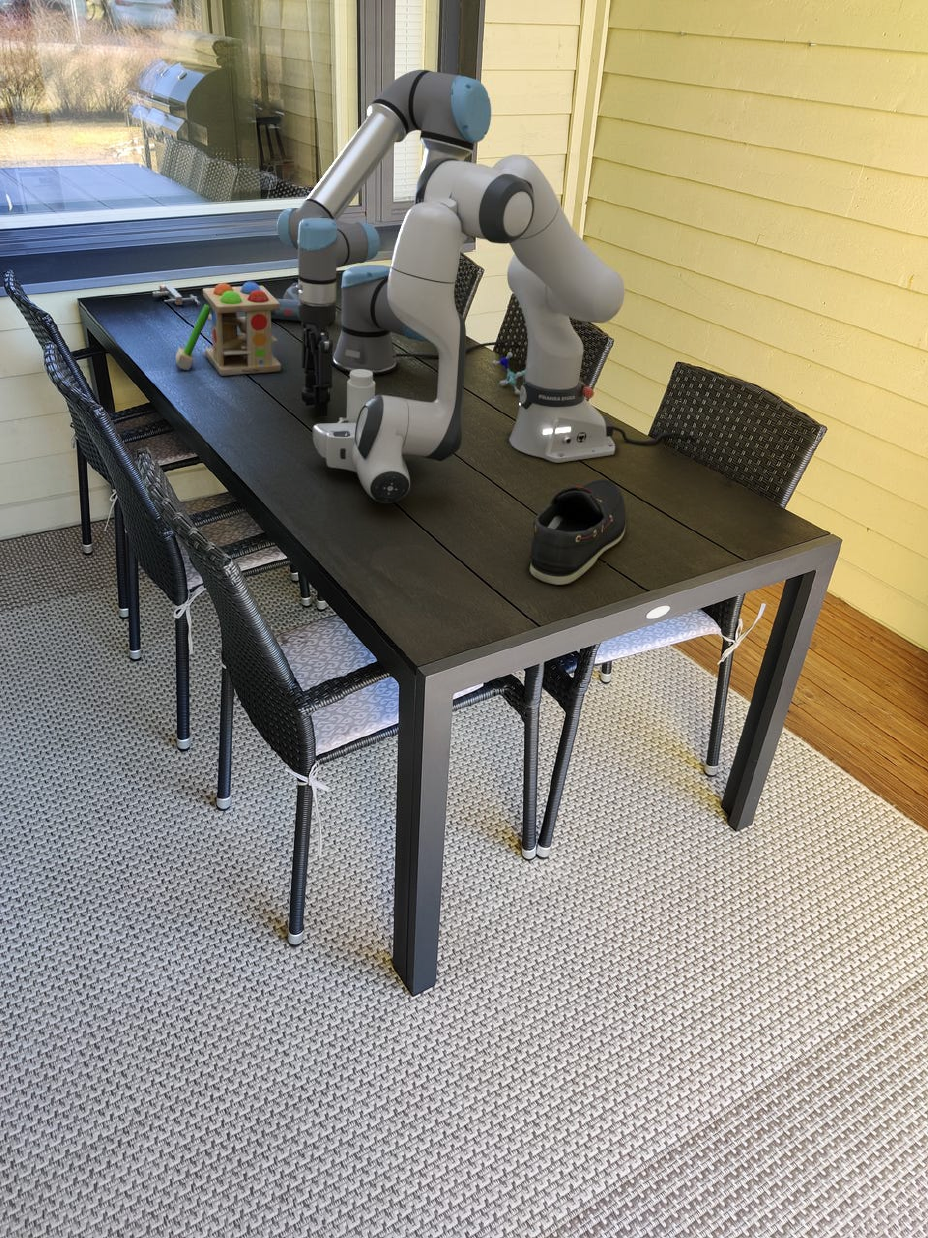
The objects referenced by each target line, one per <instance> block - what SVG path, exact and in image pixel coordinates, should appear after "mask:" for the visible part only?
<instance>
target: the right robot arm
mask: <svg viewBox="0 0 928 1238" xmlns="http://www.w3.org/2000/svg"><path fill="white" fill-rule="evenodd" d="M420 172H421V171H420ZM413 202H414V203H413V206H411V207H410V208H409V209H408V210H407V211H406V214H405V216H404V219H403V220H402V224H401V226H400V229H399V232H398V235H397V238H396V241H395V245H394V249H393V252H392V257H391V261H390V266H389V267H390V271H389V276H388V284H387V299H388V303H389V306H390V308H391V310H392V311H393V313H394V314H395V316H396V317H397V318H398V319H399V320H400V321H401V322H402V323H404V324H405V325H406V326H407V327H409V328H410V329H412V330H413V331H415V332H417V333H418V334H420V335H421V336H423V337H425V338H426V339H428V340H429V341H428V342H430V343H431V344H432V345H433V346H434V347H435V348H436V351H437V353H438V354H437V355H439V358H438V371H437V373H438V376H437V390H436V391H437V392H436V393H437V394H436V398H435V400H433V401H432V402H431V401H422V400H415V399H409V398H405V397H399V396H393V395H385V394H377V395H376V394H375V397H373V398H372V399H370V400H369V401H368V402H367V403H366V404H365V405H364V406H363V407H362V409H361V410H360V412H359V415H358V418H357V422H356V423H348V419H347V417H339V418H338V421H337V422H332V423H331V422H329V423H327V422H326V423H315V424H314V425H313V426H312V442H313V445H314V448H315V450H316V451H317V453H318V454H319V455H320V456H321V457H322V458H324V459H325V463H326V466H327V467H328V468H331V469H341V470H347V471H350V472H354V473H356V474H357V477H358V479H359V482H360V484H361V486H362V487H363V490H364V491H365V492H366V494H367V495H368V496H369V497H370V498H372V499H373V500H374V501H376V502H378V503H383V504H390V503H395V502H398V501H400V500H401V499H403V498H404V497H406V496H407V495H408V493H409V491H410V488H411V477H410V473H409V470H408V466H407V463H406V461H405V459H404V457H403V455H408V456H416V457H422V458H424V459H429V460H432V461H433V460H434V461H438V462H443V461H445V460H447V459H448V458H450V457H451V456H452V455H454V454H455V453H456V452H457V451H459V449H460V448H461V446H462V441H463V431H464V429H463V428H464V424H463V423H464V421H463V402H464V399H463V397H464V386H465V385H464V384H465V371H466V370H465V369H466V354H467V352H466V348H467V330H466V329H467V328H466V323H465V322H466V321H465V318H464V316H463V315H462V314H461V313H460V312H459V311H458V310H457V306H456V301H455V286H456V281H457V277H458V276H457V275H458V271H459V265H460V257H461V249H462V247H463V245H464V243H465V241H466V240H467V239H468V236H469V237H472V238H476V239H480V240H486V241H488V242H489V243H493V244H501V245H507V244H509V246H510V248H511V249H512V252H513V253H514V255H513V256H512V257H511V259H510V261H509V263H508V267H507V271H506V276H507V277H506V280H507V284H508V288H509V289H510V291H511V292H512V294H513V295H514V296H515V298H516V300H517V301H518V304H519V306H520V308H521V311H522V315H523V318H524V324H525V328H526V334H527V351H526V359H527V361H526V360H525V368H526V371H525V375H524V376H523V377H522V380H521V386H520V389H519V391H520V394H519V409H518V413H517V416H516V419H515V423H514V426H513V429H512V431H511V434H510V435H509V439H508V440H509V441H508V442H509V444H510V445H511V446H512V447H513V448H514V449H516V450H517V451H520V452H522V453H524V454H527V455H530V456H533V457H538V458H542V459H544V460H547V461H549V462H551V463H556V464H557V463H565V462H572V461H579V460H587V459H592V458H600V457H607V456H613V455H615V452H616V444H615V442H614V440H613V439H612V437H613V435H614V434H613V433H614V431H616V432H618V433H620V434H621V435H622V439H623V440H624V441H625V442H627V443H629V444H633V445H641V446H642V445H654V444H656V443H658V442H659V441H660V440H661V439H662V438H665V437H672V436H673V437H674V436H681V435H680V434H678V433H677V432H678V431H674V432H665V433H660V434H659V435H658V436H657V437H656V438H655V439H652V440H645V441H644V440H641V441H640V440H633V439H630V438H628V437H627V434H626V432H625V430H623V429H622V428H620V427H617V426H615V425H614V424H613V423H612V422H611V421H610V420H609V419H608V418H607V417H604V416H603V415H602V414H601V413H600V412H599V411H598V410H597V409H596V407H594V406H593V405H592V404H591V403H590V402H589V401H587V400H588V399H589V400H590V399H593V397H595V391H594V390H593V389H592V388H591V387H590V386H587V385H586V384H585V383H584V382H583V381H582V380H580V374H581V367H582V362H583V356H584V345H583V341H582V339H581V337H580V336H579V335H578V333H577V332H576V330H575V329H574V328H573V325H572V323H571V320H570V318H571V319H573V320H576V321H579V322H583V323H593V324H605V323H606V324H607V323H608V322H610V321H611V320H612V319H614V318H615V317H616V316H617V315H618V313H619V312H620V310H621V309H622V307H623V305H624V301H625V296H626V287H625V282H624V278H623V277H622V275H621V274H620V273H618V272H617V271H615V269H612V267H610V266H609V265H608V264H606V263H605V262H604V261H603V260H602V259H601V258H600V257H599V256H598V255H597V254H596V253H595V252H594V251H593V250H592V249H591V247H589V245H588V244H587V243H586V242H585V241H584V240H583V238H581V236H580V235H579V234H578V233H577V232H576V230H575V229H574V227H573V226H572V225H571V223H570V221H569V218H568V217H567V215H566V213H565V211H564V209H563V207H562V205H561V202H560V201H559V198H558V197H557V195H556V192H555V190H554V189H553V187H552V184H551V183H550V182H549V180H548V178H547V177H546V176H545V174H544V172H543V171H542V170H541V169H540V168H539V166H538V165H537V164H536V162H535V161H533V159H531V158H530V157H529V156H526V155H524V154H511V155H507V156H504V157H503V158H501V159H500V160H498V161H496V162H495V164H494V165H493V166H492V167H491V166H488V165H486V164H482V163H475V162H470V161H465V160H463V161H459V160H457V159H454V158H438V159H434V160H432V161H431V162H429V163H428V164H427V165H426V167H425V168H424V169H423V171H422V172H421V174H420V173H419V176H418V178H417V181H416V186H415V190H414V201H413ZM683 436H684V437H687V438H690V439H691V440H692V441H693V442H698V439H697V438H696V439H694V438H692V437H690V436H686V435H683Z"/></svg>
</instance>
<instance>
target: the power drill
mask: <svg viewBox="0 0 928 1238" xmlns="http://www.w3.org/2000/svg"><path fill="white" fill-rule="evenodd" d="M296 285H299V282H293V283H292V284H291V285H290V286H289V287H288V288H287V289H286V291H285V292H284V294H283V297H282V298H275V299H276V300H277V301H278V302H279V303H280V310H271V319H274V320H275V319H276V320H283V321H294V322H295V321H297V322H301V321H300V320H299V318H298V302H299V301H300V299H299V296H298V290H297V289H296ZM336 317H338V312H337V311H336Z"/></svg>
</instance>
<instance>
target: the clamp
mask: <svg viewBox="0 0 928 1238" xmlns="http://www.w3.org/2000/svg"><path fill="white" fill-rule="evenodd" d="M158 288H159V291H152V296H153V297H154V298H157V297H158V298H160V297H163V296H167V297H168V298H169V299H164V301H163V302H164V303H174V304H175V305H176V306H181V305H183V302H194V303H195V302H196V303H197V306H201V304H202V302H201V301H199V300H198V296H195V295H194V294H189V297H183V296H182V295H181V294H180V293H179V292H178V291H177V290H176V289H175V288H174V287H173V286H172V285H171V284H165V285H164V284H162V285H159V286H158Z"/></svg>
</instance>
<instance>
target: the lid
mask: <svg viewBox="0 0 928 1238" xmlns="http://www.w3.org/2000/svg"><path fill="white" fill-rule="evenodd" d="M313 386H314V385H311V386H306V387H305V386H303V387H302V389H301V400H302V402H303V403H304V404H305V403H308V404H312V405H311V406H314V388H313ZM330 401H331V390H330V388H328V403H330Z"/></svg>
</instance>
